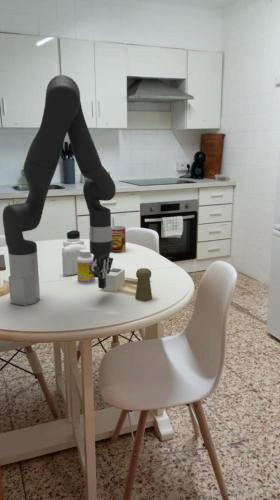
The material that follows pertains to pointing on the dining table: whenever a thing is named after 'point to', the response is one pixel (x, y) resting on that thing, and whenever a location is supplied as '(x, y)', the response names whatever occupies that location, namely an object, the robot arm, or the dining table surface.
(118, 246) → the canned food
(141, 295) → the cork
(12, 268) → the robot arm
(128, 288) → the board
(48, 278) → the dining table surface
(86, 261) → the supplement bottle
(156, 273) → the dining table surface
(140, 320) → the dining table surface
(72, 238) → the medicine bottle
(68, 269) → the photo printer
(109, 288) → the white box
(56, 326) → the dining table surface
